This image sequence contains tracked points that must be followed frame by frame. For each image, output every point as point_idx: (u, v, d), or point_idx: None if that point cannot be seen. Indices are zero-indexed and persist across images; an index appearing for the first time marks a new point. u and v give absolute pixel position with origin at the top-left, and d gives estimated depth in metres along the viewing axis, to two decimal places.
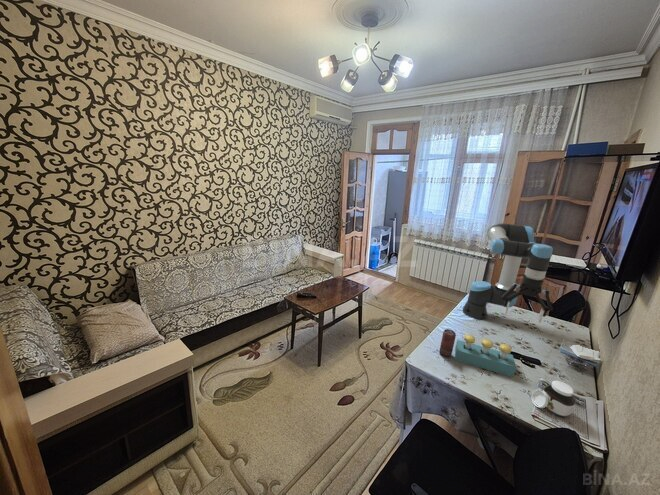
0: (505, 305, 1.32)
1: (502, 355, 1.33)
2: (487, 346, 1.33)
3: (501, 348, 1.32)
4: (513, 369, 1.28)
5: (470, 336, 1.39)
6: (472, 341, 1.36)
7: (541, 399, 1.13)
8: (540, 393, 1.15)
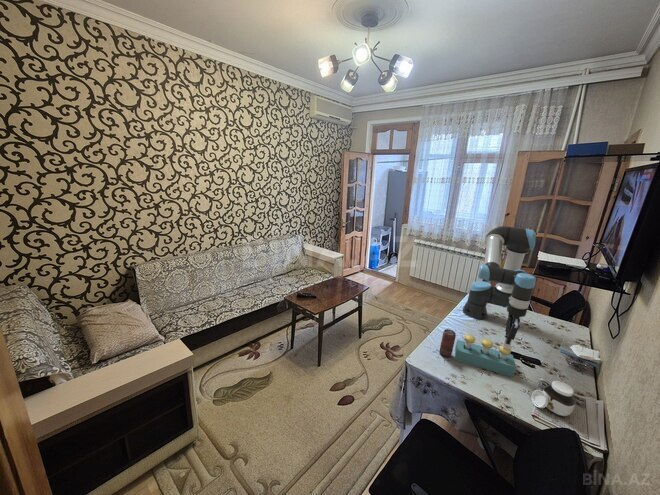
0: None
1: (501, 357, 1.33)
2: (487, 346, 1.33)
3: (501, 350, 1.32)
4: (513, 369, 1.28)
5: (470, 336, 1.39)
6: (472, 341, 1.36)
7: (541, 399, 1.13)
8: (540, 393, 1.15)
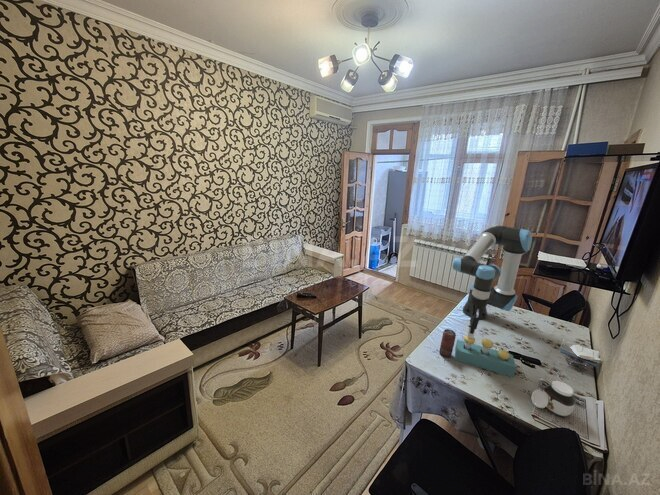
0: None
1: None
2: (487, 346, 1.33)
3: (499, 354, 1.33)
4: (513, 369, 1.28)
5: None
6: (472, 342, 1.36)
7: (541, 399, 1.13)
8: (540, 393, 1.15)
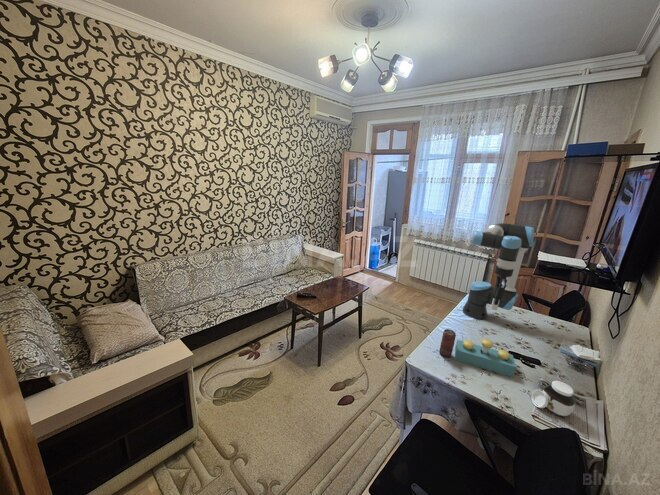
0: None
1: None
2: (487, 346, 1.33)
3: (499, 354, 1.33)
4: (513, 369, 1.28)
5: (468, 342, 1.40)
6: (470, 347, 1.37)
7: (541, 399, 1.13)
8: (540, 393, 1.15)
